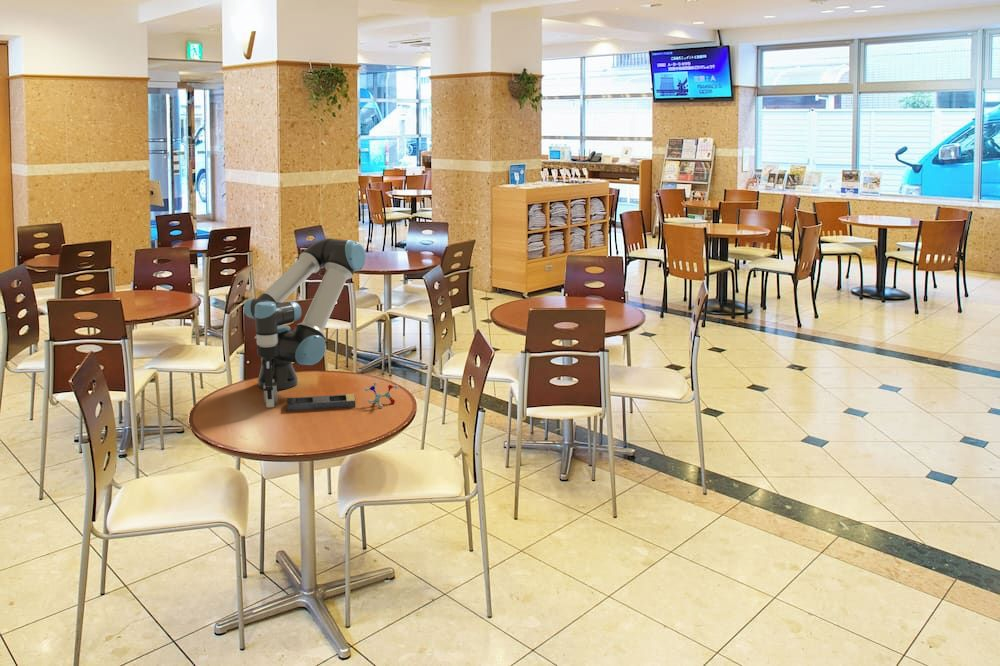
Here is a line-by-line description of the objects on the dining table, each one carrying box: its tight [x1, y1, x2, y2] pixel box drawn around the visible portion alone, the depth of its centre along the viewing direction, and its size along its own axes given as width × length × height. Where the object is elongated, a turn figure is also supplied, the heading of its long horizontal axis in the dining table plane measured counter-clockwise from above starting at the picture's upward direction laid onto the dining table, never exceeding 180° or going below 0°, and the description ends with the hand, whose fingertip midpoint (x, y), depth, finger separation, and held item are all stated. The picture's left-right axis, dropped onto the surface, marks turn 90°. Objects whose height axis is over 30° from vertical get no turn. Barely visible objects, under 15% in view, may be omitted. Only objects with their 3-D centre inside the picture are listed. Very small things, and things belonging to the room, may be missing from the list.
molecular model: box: [364, 381, 399, 409], centre depth 321 cm, size 12×10×10 cm
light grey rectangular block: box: [263, 382, 279, 406], centre depth 322 cm, size 4×4×7 cm
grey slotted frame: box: [286, 393, 356, 413], centre depth 319 cm, size 8×24×3 cm, turn 103°
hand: (270, 401), depth 323 cm, fingers open, 12 cm apart
